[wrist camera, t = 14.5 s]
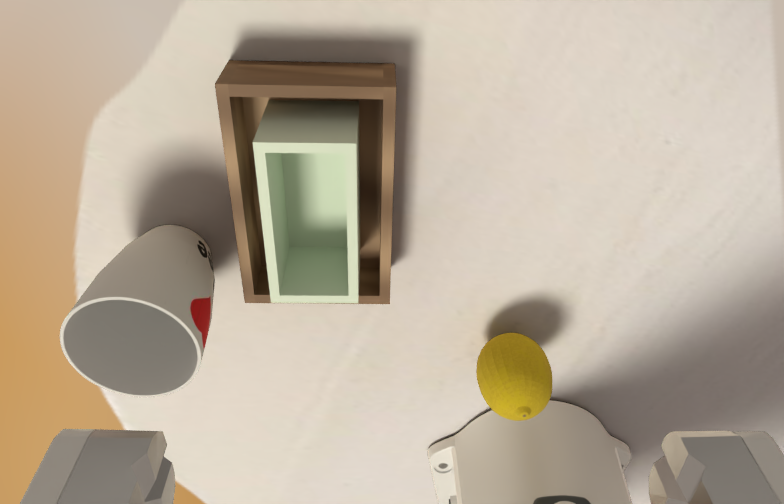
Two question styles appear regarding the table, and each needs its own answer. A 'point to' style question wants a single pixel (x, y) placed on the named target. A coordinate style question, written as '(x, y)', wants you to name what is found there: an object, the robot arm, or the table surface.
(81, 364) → the cup
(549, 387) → the lemon
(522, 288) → the table surface
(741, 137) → the table surface
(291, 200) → the sage crate
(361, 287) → the walnut crate
